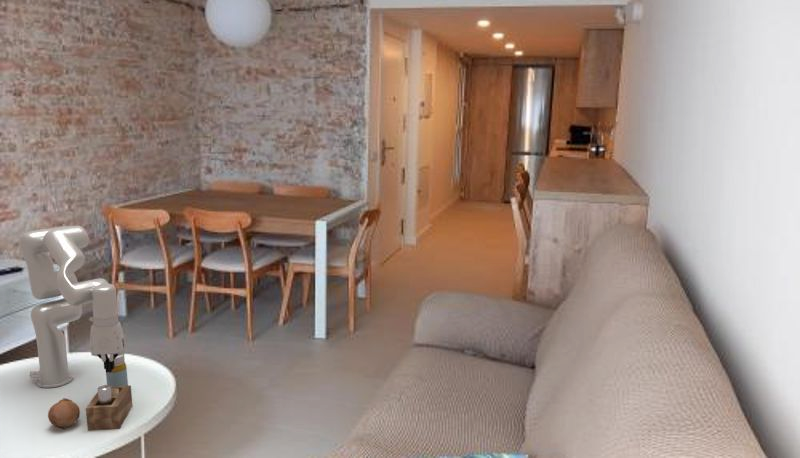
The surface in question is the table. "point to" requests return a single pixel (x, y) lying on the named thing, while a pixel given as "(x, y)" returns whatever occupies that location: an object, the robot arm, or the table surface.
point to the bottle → (118, 373)
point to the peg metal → (104, 395)
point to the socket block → (109, 410)
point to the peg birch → (114, 391)
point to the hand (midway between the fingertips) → (109, 370)
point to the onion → (64, 413)
